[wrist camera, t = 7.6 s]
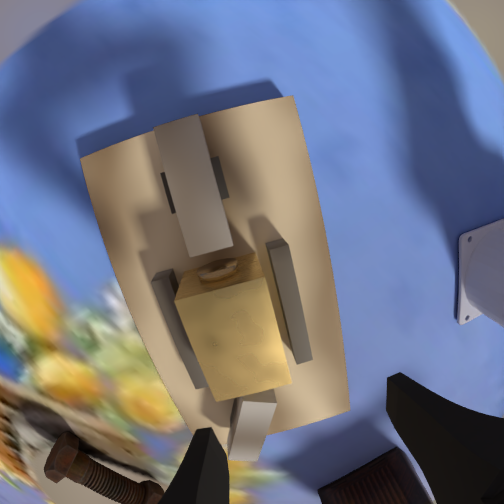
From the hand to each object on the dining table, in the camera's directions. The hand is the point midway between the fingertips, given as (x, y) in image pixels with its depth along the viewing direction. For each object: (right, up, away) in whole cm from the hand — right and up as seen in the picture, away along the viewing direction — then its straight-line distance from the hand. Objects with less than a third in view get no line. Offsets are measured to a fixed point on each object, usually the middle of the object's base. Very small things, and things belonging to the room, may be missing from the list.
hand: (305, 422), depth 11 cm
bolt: (-15, -16, +13) cm, 25 cm away
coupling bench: (-3, +3, +8) cm, 10 cm away
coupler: (-3, +3, +7) cm, 8 cm away
